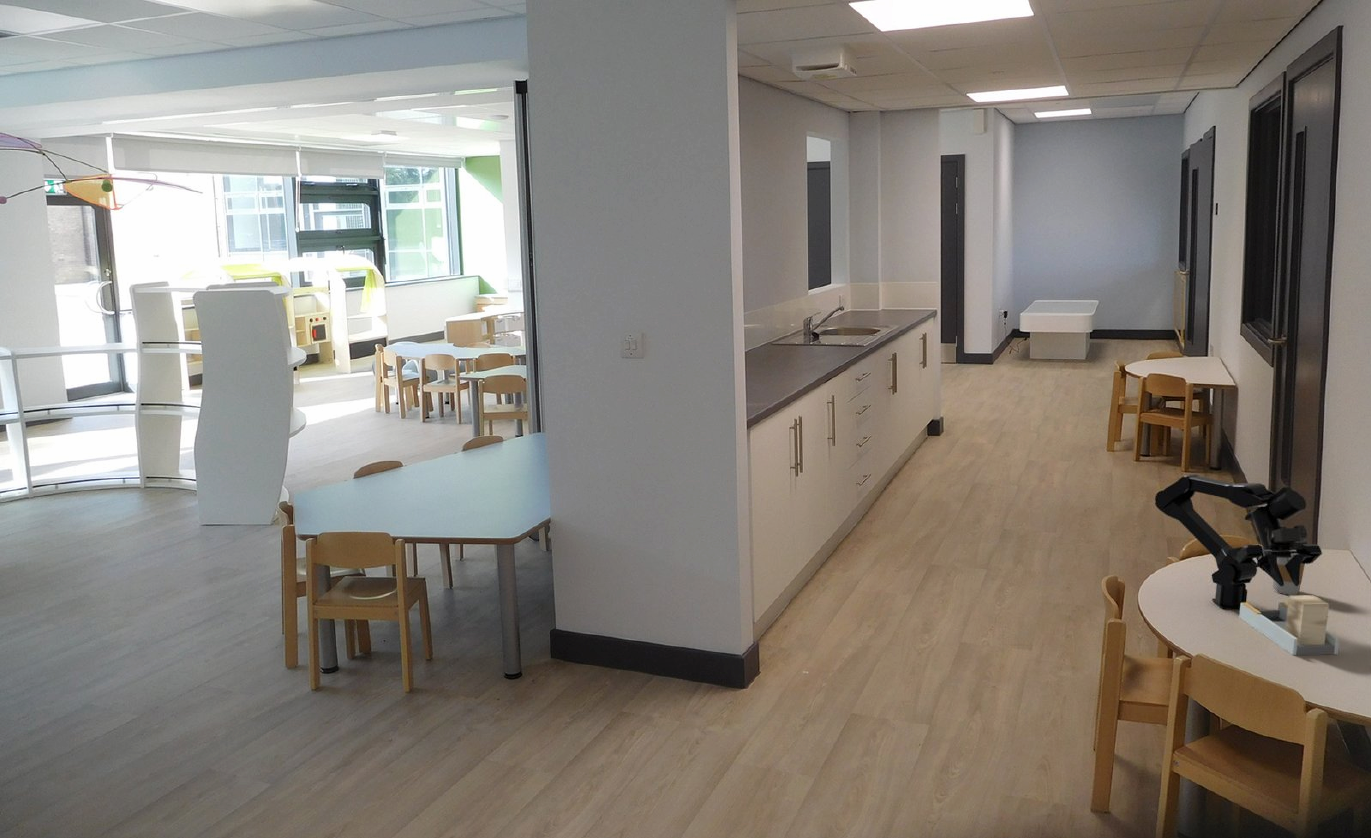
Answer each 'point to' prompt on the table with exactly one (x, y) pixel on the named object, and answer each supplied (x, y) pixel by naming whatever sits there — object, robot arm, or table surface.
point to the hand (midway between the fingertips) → (1289, 585)
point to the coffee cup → (1288, 584)
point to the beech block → (1307, 619)
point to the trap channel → (1274, 629)
